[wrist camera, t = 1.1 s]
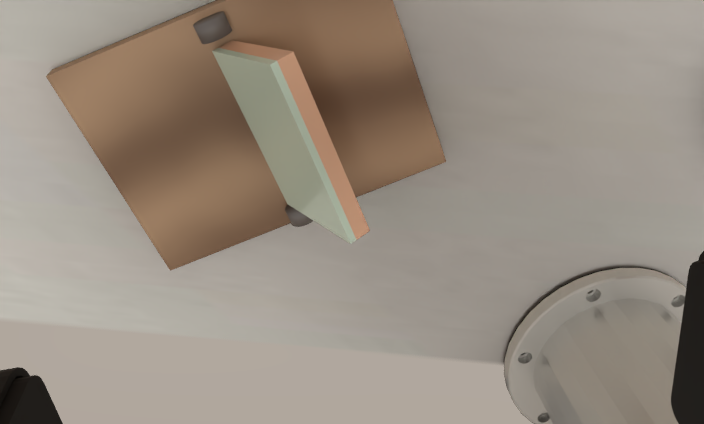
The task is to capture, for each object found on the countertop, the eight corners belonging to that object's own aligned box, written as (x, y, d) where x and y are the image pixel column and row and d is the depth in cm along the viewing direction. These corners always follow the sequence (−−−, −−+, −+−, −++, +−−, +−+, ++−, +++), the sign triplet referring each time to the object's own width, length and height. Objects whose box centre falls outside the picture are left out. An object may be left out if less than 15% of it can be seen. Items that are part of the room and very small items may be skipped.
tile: (370, 230, 27) (350, 244, 27) (299, 190, 32) (282, 201, 32) (293, 51, 23) (269, 64, 23) (227, 39, 28) (207, 50, 28)
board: (441, 153, 34) (453, 172, 32) (172, 259, 34) (167, 285, 32) (368, -64, 28) (376, -58, 26) (52, 69, 29) (37, 85, 27)
